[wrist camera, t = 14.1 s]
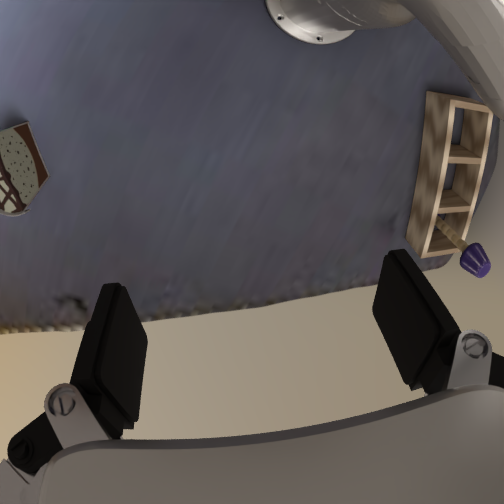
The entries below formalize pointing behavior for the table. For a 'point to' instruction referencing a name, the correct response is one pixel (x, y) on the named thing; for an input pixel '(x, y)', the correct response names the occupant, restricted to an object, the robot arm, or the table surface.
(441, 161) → the rack
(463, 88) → the table surface
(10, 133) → the food container
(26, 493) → the robot arm
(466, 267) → the toy lamp
